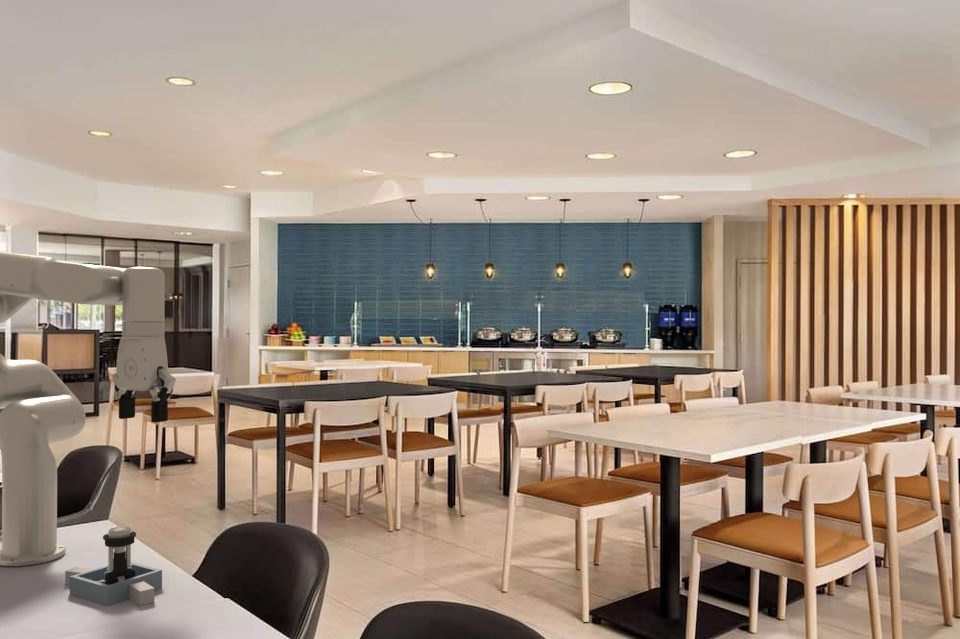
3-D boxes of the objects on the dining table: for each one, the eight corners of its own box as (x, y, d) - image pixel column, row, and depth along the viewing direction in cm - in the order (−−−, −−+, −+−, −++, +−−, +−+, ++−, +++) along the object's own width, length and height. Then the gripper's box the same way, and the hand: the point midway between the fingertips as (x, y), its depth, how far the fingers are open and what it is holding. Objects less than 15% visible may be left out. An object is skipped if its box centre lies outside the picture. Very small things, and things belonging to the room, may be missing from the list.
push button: (99, 594, 134) (99, 536, 134) (90, 586, 138) (91, 530, 138) (140, 586, 138) (140, 529, 138) (130, 578, 142) (130, 523, 142)
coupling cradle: (49, 588, 139) (49, 570, 139) (104, 571, 148) (104, 555, 148) (127, 611, 128) (127, 592, 128) (181, 592, 137) (181, 574, 137)
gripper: (97, 331, 152) (97, 419, 152) (155, 332, 144) (155, 425, 144) (132, 330, 159) (131, 415, 159) (189, 331, 150) (189, 421, 150)
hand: (142, 419), depth 151 cm, fingers open, 9 cm apart
